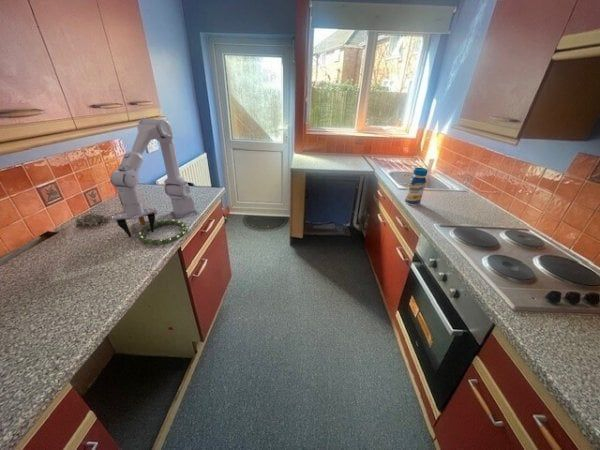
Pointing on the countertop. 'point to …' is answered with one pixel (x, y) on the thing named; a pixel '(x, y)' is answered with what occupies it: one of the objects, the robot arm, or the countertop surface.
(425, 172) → the beverage bottle
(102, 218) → the egg carton
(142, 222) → the ring stand
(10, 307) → the countertop surface
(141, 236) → the ring
